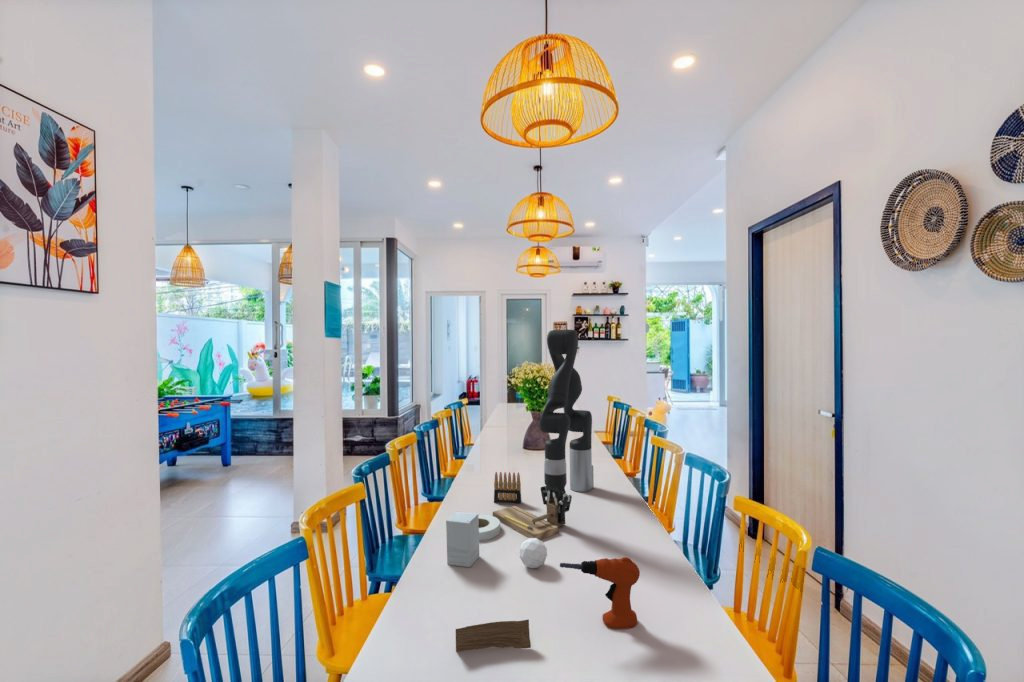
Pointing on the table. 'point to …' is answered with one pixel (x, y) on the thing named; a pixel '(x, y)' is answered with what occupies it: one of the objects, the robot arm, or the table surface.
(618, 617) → the toy drill
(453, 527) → the supplement box
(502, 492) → the ammunition clip
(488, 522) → the roll of tape
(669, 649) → the table surface
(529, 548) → the ball
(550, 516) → the block on a post
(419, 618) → the table surface
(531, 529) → the pencil
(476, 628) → the wood plank
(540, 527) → the board
